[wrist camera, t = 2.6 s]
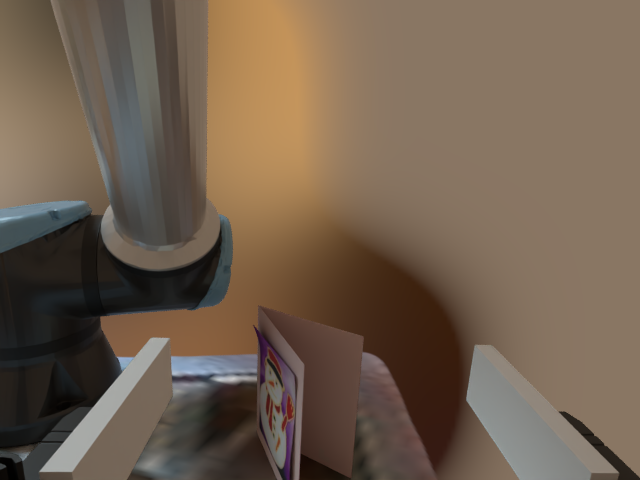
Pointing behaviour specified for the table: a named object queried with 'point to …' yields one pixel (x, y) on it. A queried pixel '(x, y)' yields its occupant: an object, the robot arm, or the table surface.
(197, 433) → the table surface
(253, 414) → the table surface
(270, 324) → the greeting card
